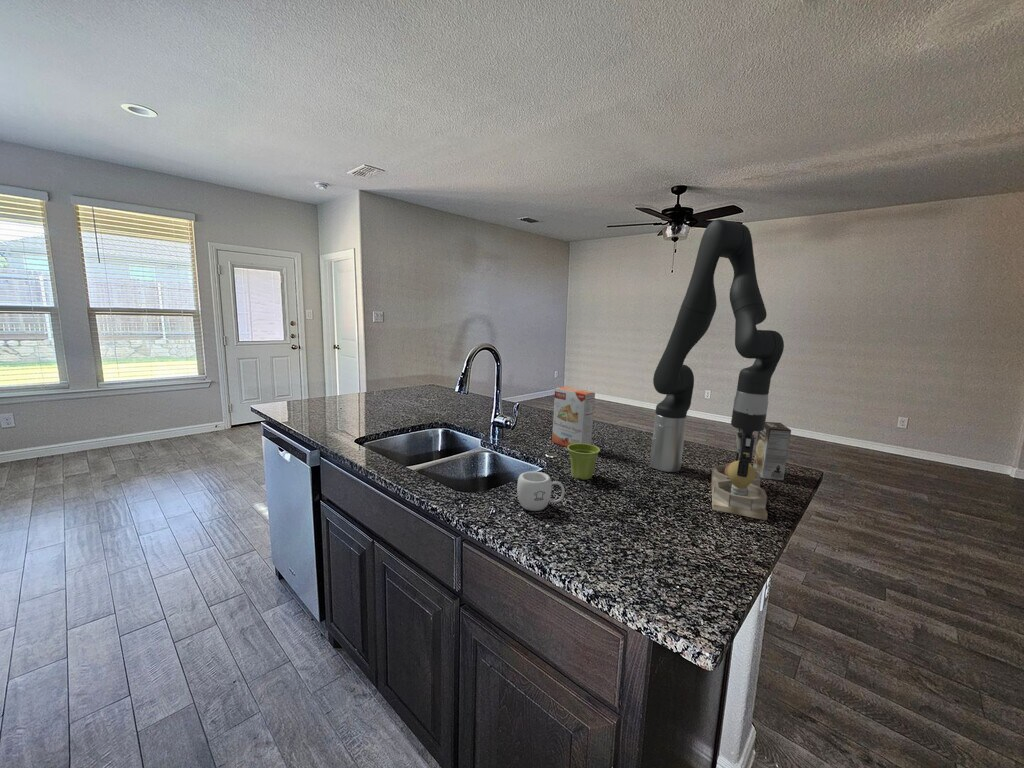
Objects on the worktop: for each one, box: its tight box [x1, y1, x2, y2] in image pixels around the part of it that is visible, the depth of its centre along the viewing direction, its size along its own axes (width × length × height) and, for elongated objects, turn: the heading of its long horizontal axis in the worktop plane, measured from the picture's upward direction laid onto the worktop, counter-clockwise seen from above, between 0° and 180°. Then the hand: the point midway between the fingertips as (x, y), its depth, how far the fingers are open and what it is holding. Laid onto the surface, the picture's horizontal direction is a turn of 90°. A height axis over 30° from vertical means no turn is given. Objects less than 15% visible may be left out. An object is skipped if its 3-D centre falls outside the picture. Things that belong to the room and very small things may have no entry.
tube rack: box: [710, 464, 769, 521], centre depth 120 cm, size 12×26×4 cm, turn 157°
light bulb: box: [728, 461, 757, 497], centre depth 114 cm, size 6×6×10 cm
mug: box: [516, 470, 565, 512], centre depth 108 cm, size 12×8×8 cm
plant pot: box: [566, 443, 601, 481], centre depth 129 cm, size 9×9×9 cm
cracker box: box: [551, 386, 596, 448], centre depth 157 cm, size 14×6×21 cm, turn 43°
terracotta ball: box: [725, 461, 733, 477], centre depth 125 cm, size 6×6×6 cm
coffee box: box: [752, 421, 792, 481], centre depth 136 cm, size 9×6×16 cm
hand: (740, 470), depth 113 cm, fingers open, 8 cm apart
